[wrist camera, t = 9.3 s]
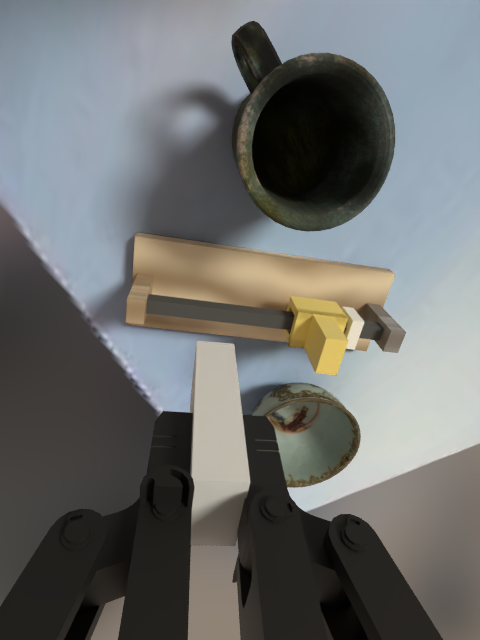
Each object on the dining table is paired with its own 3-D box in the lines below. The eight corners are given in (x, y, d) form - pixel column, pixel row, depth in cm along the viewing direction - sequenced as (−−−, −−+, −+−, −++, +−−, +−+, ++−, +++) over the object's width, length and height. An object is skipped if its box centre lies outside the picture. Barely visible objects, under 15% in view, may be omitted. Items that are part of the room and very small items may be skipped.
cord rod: (147, 293, 37) (145, 299, 36) (379, 322, 41) (385, 328, 40) (146, 306, 38) (144, 313, 36) (375, 334, 41) (380, 340, 40)
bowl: (308, 450, 56) (323, 498, 49) (223, 426, 53) (226, 474, 46) (358, 378, 51) (383, 420, 44) (267, 346, 47) (278, 386, 40)
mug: (266, 223, 40) (289, 260, 30) (181, 86, 34) (171, 71, 23) (359, 160, 38) (420, 176, 28) (286, 2, 32) (328, -55, 21)
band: (342, 306, 41) (353, 320, 38) (353, 307, 41) (364, 321, 38) (334, 332, 42) (343, 348, 39) (344, 334, 42) (354, 349, 39)
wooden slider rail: (137, 232, 40) (122, 256, 32) (389, 269, 44) (425, 298, 37) (132, 318, 44) (118, 356, 37) (361, 344, 48) (389, 383, 41)
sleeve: (290, 295, 40) (309, 335, 33) (336, 301, 41) (365, 341, 33) (282, 328, 41) (299, 372, 34) (326, 333, 42) (352, 377, 35)
